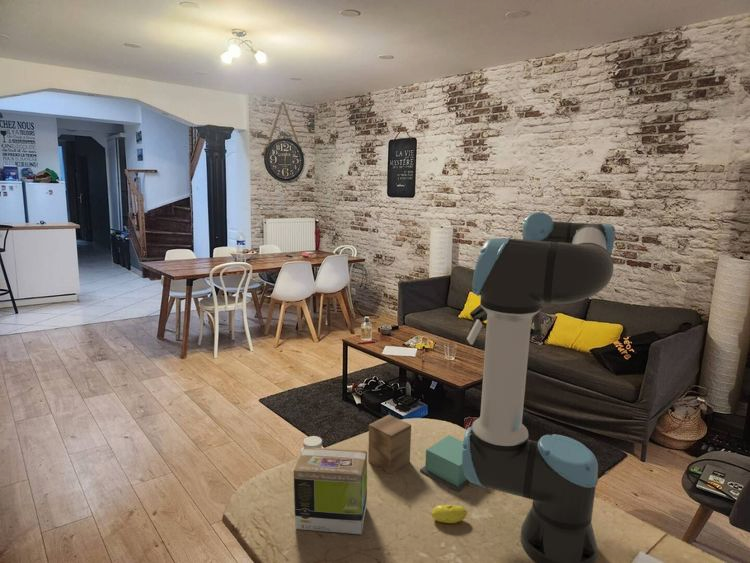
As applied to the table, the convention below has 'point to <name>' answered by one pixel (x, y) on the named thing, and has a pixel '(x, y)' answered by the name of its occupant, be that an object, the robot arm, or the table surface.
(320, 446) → the pill bottle
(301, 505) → the tea box
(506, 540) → the table surface
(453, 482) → the teal square block
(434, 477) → the rubber mat
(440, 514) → the yellow oblong rounded piece
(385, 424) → the walnut box
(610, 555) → the table surface
